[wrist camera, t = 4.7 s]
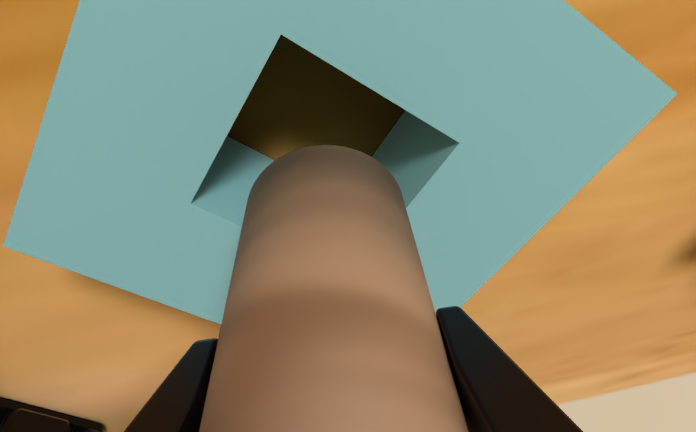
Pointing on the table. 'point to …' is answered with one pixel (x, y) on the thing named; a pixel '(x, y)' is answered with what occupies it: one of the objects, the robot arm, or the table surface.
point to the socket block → (247, 164)
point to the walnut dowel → (329, 308)
